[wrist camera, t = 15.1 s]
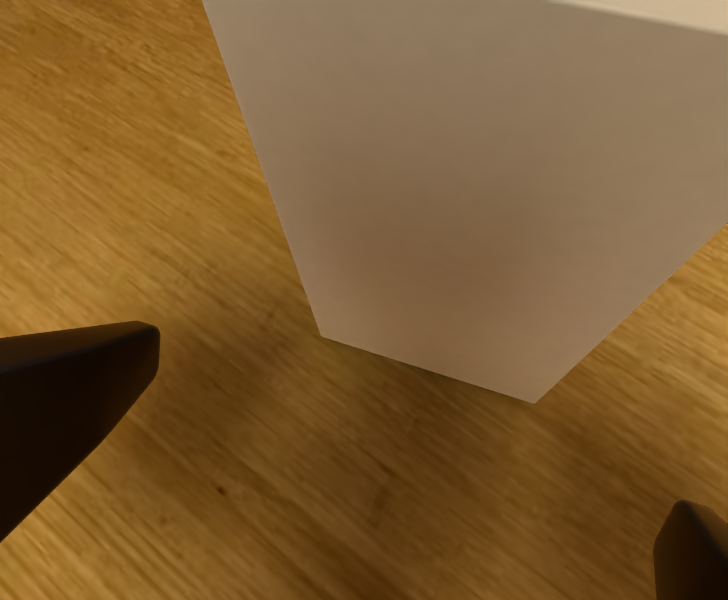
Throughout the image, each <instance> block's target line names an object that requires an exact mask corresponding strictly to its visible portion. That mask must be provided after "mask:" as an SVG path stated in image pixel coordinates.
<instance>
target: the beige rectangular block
mask: <svg viewBox="0 0 728 600" xmlns="http://www.w3.org/2000/svg"><path fill="white" fill-rule="evenodd" d="M202 3H203V6H204V9H205V11H206V14H207V17H208V20H209V23H210V25H211V28H212V31H213V34H214V37H215V40H216V42H217V45H218V48H219V51H220V54H221V56H222V59H223V62H224V65H225V68H226V70H227V73H228V76H229V79H230V82H231V85H232V87H233V90H234V93H235V96H236V99H237V101H238V104H239V107H240V110H241V113H242V116H243V118H244V121H245V124H246V127H247V130H248V132H249V135H250V138H251V141H252V144H253V147H254V149H255V152H256V155H257V158H258V161H259V163H260V166H261V169H262V172H263V175H264V177H265V180H266V183H267V186H268V189H269V192H270V194H271V197H272V200H273V203H274V206H275V208H276V211H277V214H278V217H279V220H280V223H281V225H282V228H283V231H284V234H285V237H286V239H287V242H288V245H289V248H290V251H291V254H292V256H293V259H294V262H295V265H296V268H297V270H298V273H299V276H300V279H301V282H302V284H303V287H304V290H305V293H306V296H307V299H308V301H309V304H310V307H311V310H312V313H313V315H314V318H315V321H316V324H317V327H318V330H319V332H320V335H321V337H324V338H327V339H330V340H334V341H337V342H340V343H343V344H346V345H349V346H352V347H356V348H359V349H362V350H365V351H368V352H371V353H375V354H378V355H381V356H384V357H387V358H390V359H394V360H397V361H400V362H403V363H406V364H409V365H413V366H416V367H419V368H422V369H425V370H428V371H431V372H435V373H438V374H441V375H444V376H447V377H450V378H454V379H457V380H460V381H463V382H466V383H469V384H473V385H476V386H479V387H482V388H485V389H488V390H491V391H495V392H498V393H501V394H504V395H507V396H510V397H514V398H517V399H520V400H523V401H526V402H529V403H533V404H535V403H536V402H537V401H538V400H539V399H540V398H541V397H543V396H544V395H545V394H546V393H547V392H548V391H549V390H550V389H551V388H552V387H553V386H554V385H555V384H556V383H557V382H559V381H560V380H561V379H562V378H563V377H564V376H565V375H566V374H567V373H568V372H569V371H570V370H571V369H572V368H573V367H575V366H576V365H577V364H578V363H579V362H580V361H581V360H582V359H583V358H584V357H585V356H586V355H587V354H588V353H589V352H591V351H592V350H593V349H594V348H595V347H596V346H597V345H598V344H599V343H600V342H601V341H602V340H603V339H604V338H605V337H607V336H608V335H609V334H610V333H611V332H612V331H613V330H614V329H615V328H616V327H617V326H618V325H619V324H620V323H621V322H623V321H624V320H625V319H626V318H627V317H628V316H629V315H630V314H631V313H632V312H633V311H634V310H635V309H636V308H637V307H639V306H640V305H641V304H642V303H643V302H644V301H645V300H646V299H647V298H648V297H649V296H650V295H651V294H652V293H653V292H655V291H656V290H657V289H658V288H659V287H660V286H661V285H662V284H663V283H664V282H665V281H666V280H667V279H668V278H669V277H671V276H672V275H673V274H674V273H675V272H676V271H677V270H678V269H679V268H680V267H681V266H682V265H683V264H684V263H685V262H687V261H688V260H689V259H690V258H691V257H692V256H693V255H694V254H695V253H696V252H697V251H698V250H699V249H700V248H701V247H703V246H704V245H705V244H706V243H707V242H708V241H709V240H710V239H711V238H712V237H713V236H714V235H715V234H716V233H717V232H719V231H720V230H721V229H722V228H723V227H724V226H725V225H726V224H727V223H728V0H202Z"/></svg>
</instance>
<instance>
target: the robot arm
mask: <svg viewBox="0 0 728 600" xmlns="http://www.w3.org/2000/svg"><path fill="white" fill-rule="evenodd" d="M159 351H160V331H159V329H158V328H157V327H156V326H153V325H150V324H147V323H144V322H141V321H130V322H122V323H114V324H106V325H98V326H91V327H83V328H75V329H67V330H60V331H52V332H44V333H36V334H29V335H21V336H13V337H5V338H0V543H1V542H2V541H3V540H4V539H5V538H6V537H7V536H8V535H9V534H10V533H11V532H12V531H13V530H14V529H15V528H16V527H17V526H18V525H19V524H20V523H21V522H22V521H23V520H24V519H25V518H26V517H27V516H28V515H29V514H30V513H31V512H32V511H33V510H34V509H35V508H36V507H37V506H38V505H39V504H40V503H41V502H42V501H43V500H44V499H45V498H46V497H47V496H48V495H49V494H50V493H51V492H52V491H53V490H54V489H55V488H56V487H57V486H58V485H59V484H60V483H61V482H62V481H63V480H64V479H65V478H66V477H67V476H68V475H69V474H70V473H71V472H72V471H73V470H74V469H75V468H76V467H77V466H78V465H79V464H80V463H81V462H82V461H83V460H84V459H85V458H86V457H87V456H88V455H89V454H90V453H91V452H92V451H93V450H94V449H95V448H96V447H97V446H98V445H99V444H100V443H101V442H102V441H103V440H104V439H105V438H106V436H107V435H108V434H109V433H110V432H111V431H112V430H113V428H114V427H115V426H116V425H117V423H118V422H119V421H120V420H121V419H122V417H123V416H124V415H125V414H126V412H127V411H128V410H129V409H130V408H131V406H132V405H133V404H134V403H135V401H136V400H137V399H138V398H139V397H140V395H141V394H142V393H143V392H144V391H145V389H146V388H147V387H148V386H149V384H150V383H151V382H152V381H153V379H154V378H155V376H156V374H157V371H158V366H159ZM653 557H654V570H655V584H656V597H657V600H728V524H727V523H726V522H725V521H724V520H723V519H722V518H721V517H720V516H719V515H717V514H716V513H715V512H714V511H713V510H712V509H710V508H708V507H706V506H704V505H700V504H697V503H694V502H691V501H688V500H684V499H683V500H679V501H678V502H676V503H675V505H674V506H673V508H672V510H671V511H670V513H669V515H668V517H667V519H666V520H665V522H664V524H663V526H662V528H661V530H660V531H659V533H658V535H657V537H656V540H655V543H654V549H653Z"/></svg>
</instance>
